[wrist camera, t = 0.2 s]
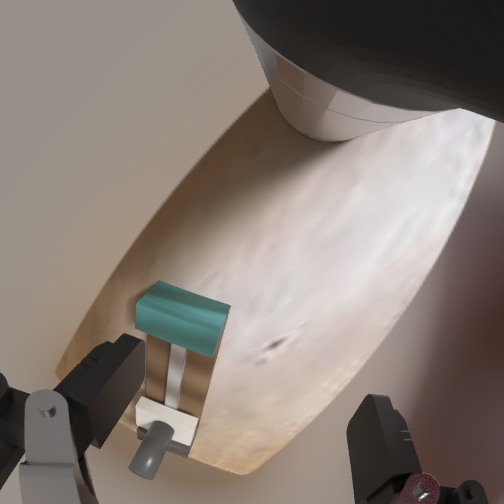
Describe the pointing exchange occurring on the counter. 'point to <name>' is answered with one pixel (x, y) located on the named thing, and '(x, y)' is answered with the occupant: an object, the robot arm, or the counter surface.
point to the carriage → (159, 435)
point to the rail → (180, 349)
